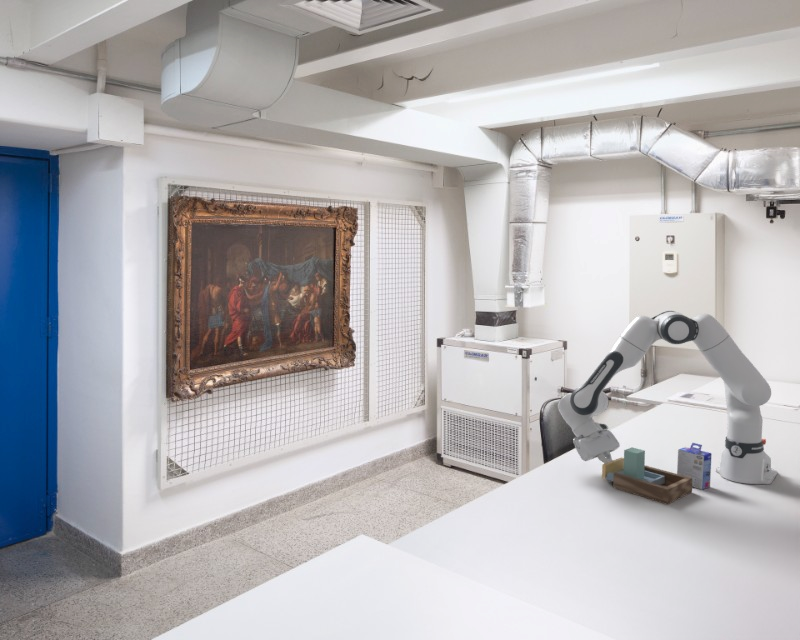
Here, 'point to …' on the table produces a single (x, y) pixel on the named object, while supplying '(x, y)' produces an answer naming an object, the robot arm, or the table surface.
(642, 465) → the block
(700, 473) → the ink cartridge box
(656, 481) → the tray
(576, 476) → the table surface
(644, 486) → the dock
